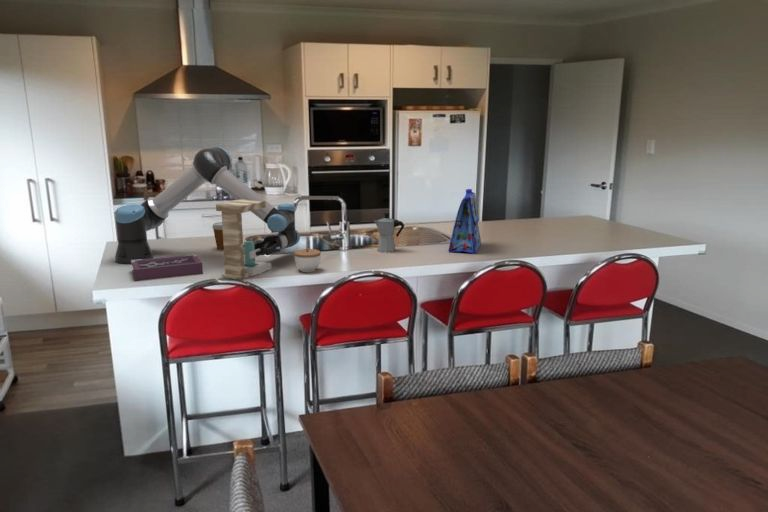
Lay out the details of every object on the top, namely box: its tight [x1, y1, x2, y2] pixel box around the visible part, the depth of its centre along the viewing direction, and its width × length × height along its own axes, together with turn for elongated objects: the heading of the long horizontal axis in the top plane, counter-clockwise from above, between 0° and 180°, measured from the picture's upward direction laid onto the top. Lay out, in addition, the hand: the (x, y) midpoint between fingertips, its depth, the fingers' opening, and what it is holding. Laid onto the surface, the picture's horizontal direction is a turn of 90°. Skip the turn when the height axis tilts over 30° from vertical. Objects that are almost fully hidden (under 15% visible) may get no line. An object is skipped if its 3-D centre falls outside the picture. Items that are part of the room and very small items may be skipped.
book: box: [131, 253, 204, 282], centre depth 233 cm, size 25×16×5 cm, turn 116°
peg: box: [243, 240, 256, 267], centre depth 235 cm, size 4×4×12 cm
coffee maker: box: [373, 212, 405, 254], centre depth 271 cm, size 15×9×18 cm, turn 73°
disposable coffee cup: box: [211, 221, 224, 251], centre depth 274 cm, size 10×10×12 cm
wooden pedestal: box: [215, 199, 267, 280], centre depth 229 cm, size 16×12×28 cm
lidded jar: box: [293, 247, 322, 273], centre depth 236 cm, size 11×11×9 cm
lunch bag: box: [448, 188, 482, 255], centre depth 275 cm, size 22×14×29 cm, turn 164°
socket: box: [244, 260, 272, 277], centre depth 236 cm, size 12×12×2 cm
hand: (242, 254), depth 230 cm, fingers open, 7 cm apart
